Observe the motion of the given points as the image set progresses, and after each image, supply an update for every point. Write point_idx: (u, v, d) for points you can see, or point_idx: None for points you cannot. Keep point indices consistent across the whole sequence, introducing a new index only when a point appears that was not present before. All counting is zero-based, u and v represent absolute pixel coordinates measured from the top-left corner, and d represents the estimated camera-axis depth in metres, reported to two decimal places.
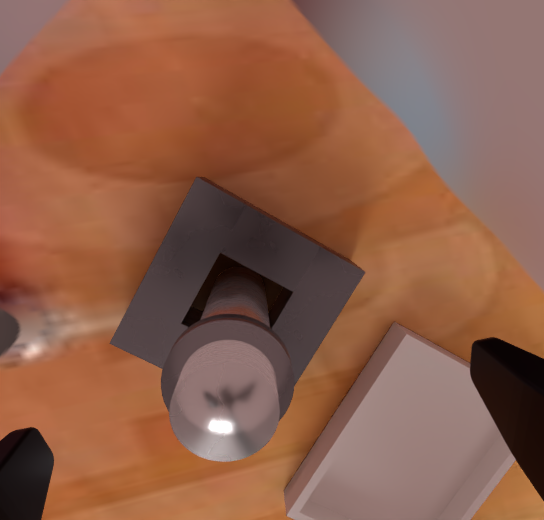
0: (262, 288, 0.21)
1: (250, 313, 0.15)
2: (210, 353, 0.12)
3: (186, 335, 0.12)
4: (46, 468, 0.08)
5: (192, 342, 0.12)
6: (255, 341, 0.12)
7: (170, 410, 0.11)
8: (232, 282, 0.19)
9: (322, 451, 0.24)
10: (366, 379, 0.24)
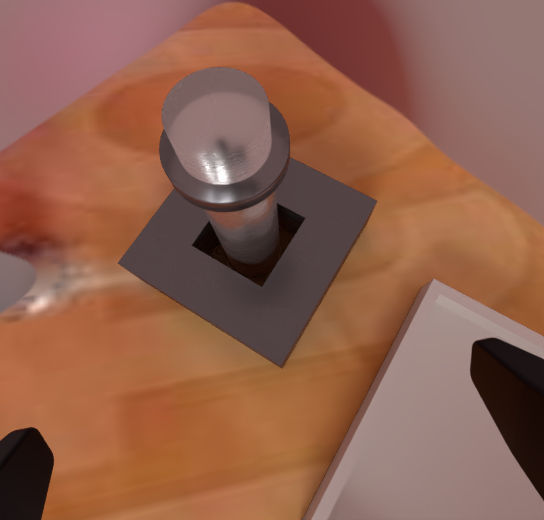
0: None
1: None
2: None
3: None
4: (46, 468, 0.08)
5: None
6: None
7: (164, 106, 0.12)
8: None
9: (347, 442, 0.18)
10: (396, 344, 0.20)
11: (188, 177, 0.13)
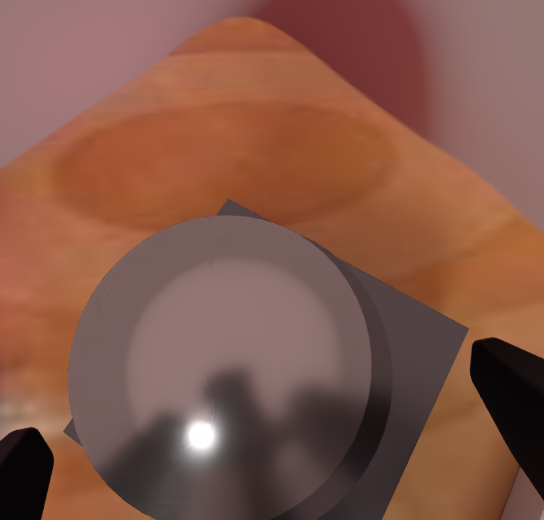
0: None
1: None
2: None
3: None
4: (46, 468, 0.08)
5: None
6: None
7: (77, 335, 0.04)
8: None
9: None
10: None
11: None
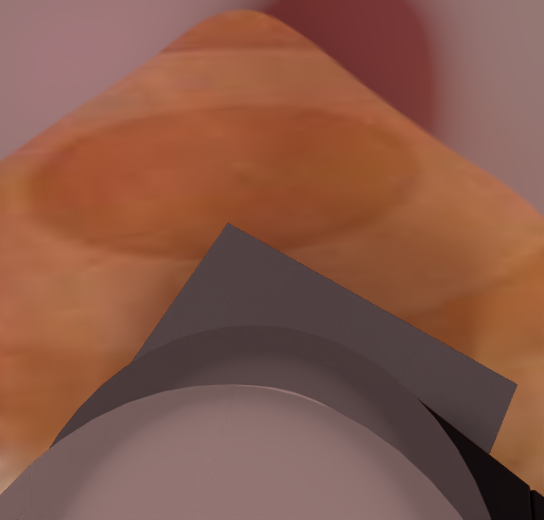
0: None
1: None
2: None
3: (130, 364, 0.04)
4: None
5: (144, 389, 0.04)
6: (348, 396, 0.04)
7: None
8: None
9: None
10: None
11: None
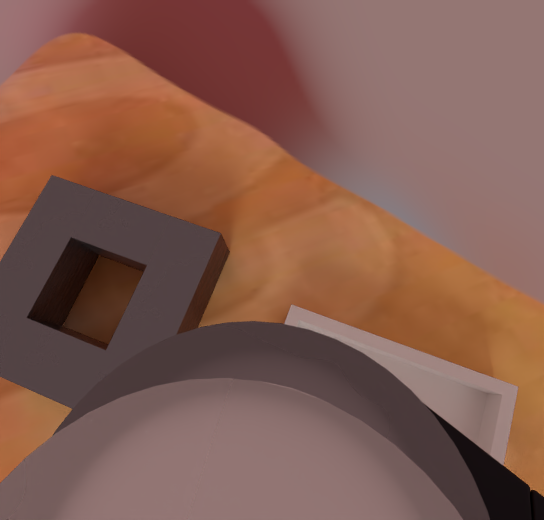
0: None
1: None
2: None
3: (128, 361, 0.04)
4: None
5: (141, 385, 0.04)
6: (346, 392, 0.04)
7: None
8: None
9: None
10: None
11: None
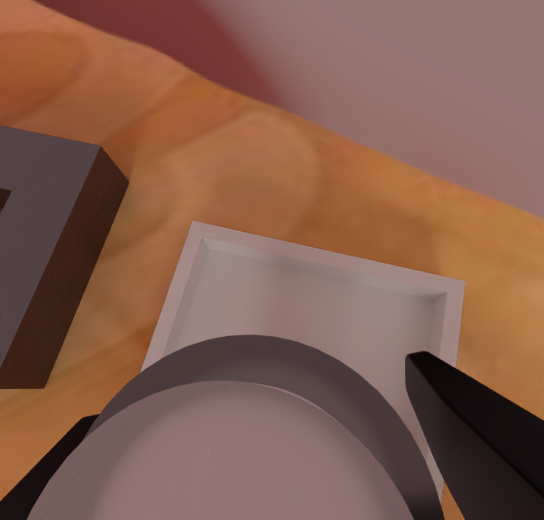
0: None
1: None
2: None
3: (150, 366, 0.05)
4: None
5: (161, 386, 0.05)
6: (325, 392, 0.05)
7: None
8: None
9: None
10: None
11: None
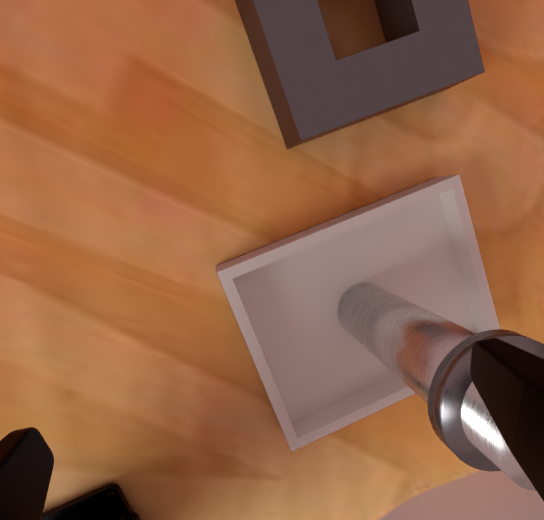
0: None
1: None
2: None
3: None
4: (46, 468, 0.08)
5: (532, 350, 0.12)
6: None
7: None
8: None
9: (299, 236, 0.20)
10: (387, 200, 0.21)
11: (457, 405, 0.12)
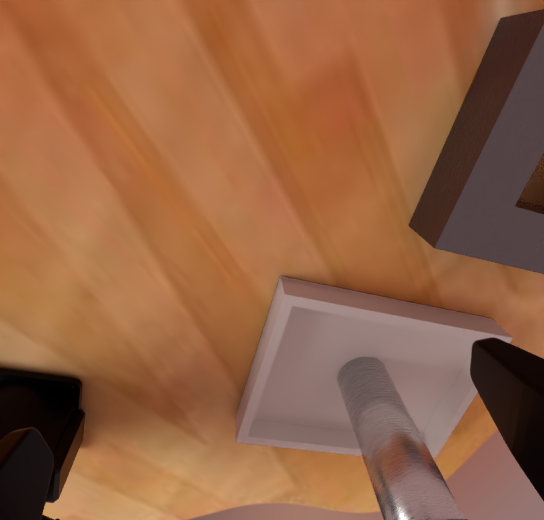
0: None
1: None
2: None
3: None
4: (46, 468, 0.08)
5: None
6: None
7: None
8: None
9: (364, 304, 0.21)
10: (447, 317, 0.23)
11: None
